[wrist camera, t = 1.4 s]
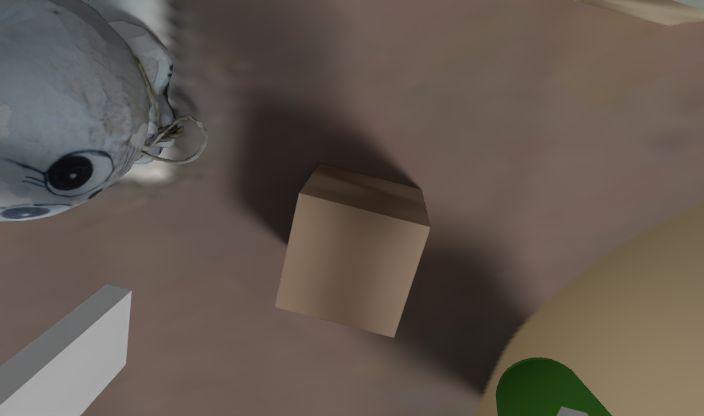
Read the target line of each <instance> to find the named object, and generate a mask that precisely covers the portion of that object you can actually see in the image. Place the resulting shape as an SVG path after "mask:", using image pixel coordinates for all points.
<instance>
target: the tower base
mask: <svg viewBox="0 0 704 416" xmlns="http://www.w3.org/2000/svg"><path fill="white" fill-rule="evenodd" d="M573 1H577V2H581V3H585V4H588V5H592V6H596V7H600V8H603V9H607V10H611V11H615V12H619V13H622V14H626V15H630V16H634V17H638V18H641V19H645V20H649V21H653V22H657V23H660V24H664V25H676V24H684V23H692V22H700V21H704V8H700V9H699V8H695V7H692V6H689V5H686V4H683V3H679V2H676V1H673V0H573Z"/></svg>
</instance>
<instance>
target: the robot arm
mask: <svg viewBox="0 0 704 416" xmlns="http://www.w3.org/2000/svg"><path fill="white" fill-rule="evenodd" d="M131 293H132V291H131V290H127V289H123V288H120V287H116V286H112V285H108V284H106V285H105V286H104V287H102V288H101V289H100V290H99V291H97V292H96V293H95V294H93V295H92V296H91V297H90V298H88V299H87V300H86V301H84V302H83V303H82V304H81V305H79V306H78V307H77V308H75V309H74V310H73V311H71V312H70V313H69V314H68V315H66V316H65V317H64V318H62V319H61V320H60V321H59V322H57V323H56V324H55V325H53V326H52V327H51V328H49V329H48V330H47V331H46V332H44V333H43V334H42V335H40V336H39V337H38V338H37V339H35V340H34V341H33V342H31V343H30V344H29V345H28V346H26V347H25V348H24V349H22V350H21V351H20V352H18V353H17V354H16V355H15V356H13V357H12V358H11V359H9V360H8V361H7V362H6V363H4V364H3V365H2V366H0V416H80V415H81V414H82V413H83V412H84V411H85V409H86V408H87V407H88V406H89V405H90V404H91V403H92V402H93V400H94V399H95V398H96V397H97V396H98V395H99V394H100V393H101V392H102V390H103V389H104V388H105V387H106V386H107V385H108V384H109V383H110V381H111V380H112V379H113V378H114V377H115V376H116V375H117V374H118V372H119V371H120V370H121V369H122V368H123V367H124V366H125V365H126V354H127V342H128V330H129V317H130V305H131ZM557 416H588V414H587V413H584V412H581V411H577V410H573V409H569V408H566V407H562V406H561V408H560V410H559V412H558V414H557Z"/></svg>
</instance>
